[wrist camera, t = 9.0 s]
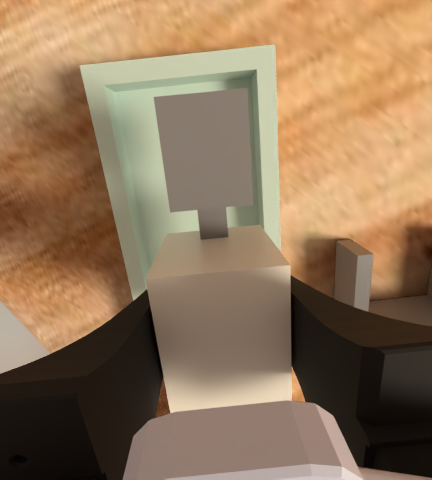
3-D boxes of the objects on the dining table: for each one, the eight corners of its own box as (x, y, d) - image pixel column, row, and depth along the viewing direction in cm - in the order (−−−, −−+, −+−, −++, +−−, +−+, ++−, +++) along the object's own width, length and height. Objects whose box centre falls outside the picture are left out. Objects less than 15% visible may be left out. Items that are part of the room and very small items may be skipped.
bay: (437, 304, 23) (498, 346, 18) (333, 315, 22) (367, 361, 18) (451, 228, 20) (525, 253, 16) (336, 240, 20) (376, 269, 16)
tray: (274, 306, 22) (282, 325, 20) (148, 319, 22) (142, 340, 20) (265, 59, 16) (275, 44, 14) (97, 76, 16) (79, 65, 14)
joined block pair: (264, 330, 15) (291, 412, 10) (182, 338, 15) (172, 424, 10) (255, 111, 12) (288, 84, 7) (150, 121, 12) (112, 100, 7)
